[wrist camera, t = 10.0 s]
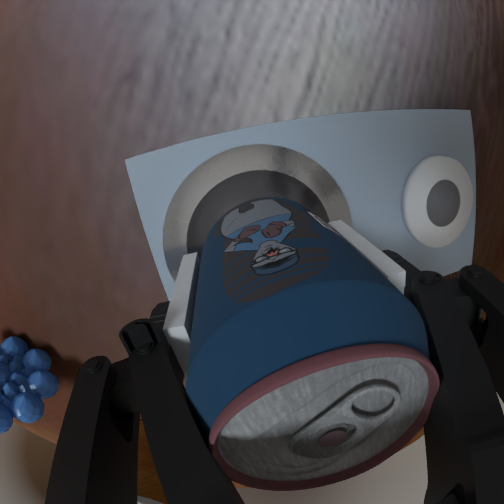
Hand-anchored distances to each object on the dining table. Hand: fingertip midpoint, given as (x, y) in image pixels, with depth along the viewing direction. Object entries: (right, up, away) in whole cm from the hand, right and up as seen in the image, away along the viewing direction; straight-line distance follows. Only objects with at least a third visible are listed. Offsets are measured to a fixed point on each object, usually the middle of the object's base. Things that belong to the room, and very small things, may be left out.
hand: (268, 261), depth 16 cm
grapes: (-24, -9, +7) cm, 26 cm away
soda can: (0, 0, +1) cm, 1 cm away
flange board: (+5, +3, +5) cm, 8 cm away
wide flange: (0, +1, +4) cm, 4 cm away
